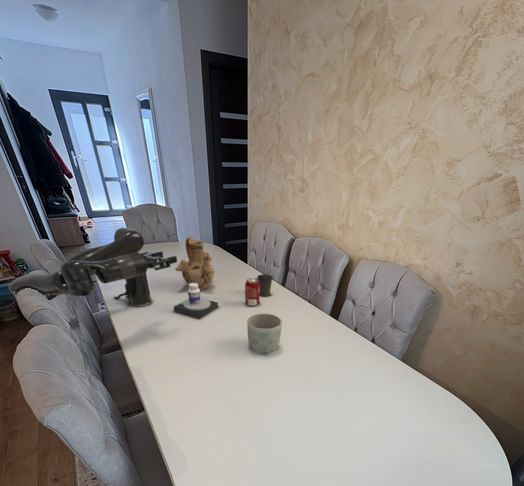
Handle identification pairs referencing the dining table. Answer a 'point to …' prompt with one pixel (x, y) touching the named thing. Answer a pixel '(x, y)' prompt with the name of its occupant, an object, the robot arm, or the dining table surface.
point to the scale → (196, 308)
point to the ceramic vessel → (196, 264)
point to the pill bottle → (194, 294)
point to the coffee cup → (265, 284)
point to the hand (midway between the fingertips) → (169, 256)
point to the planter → (264, 332)
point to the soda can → (252, 292)
